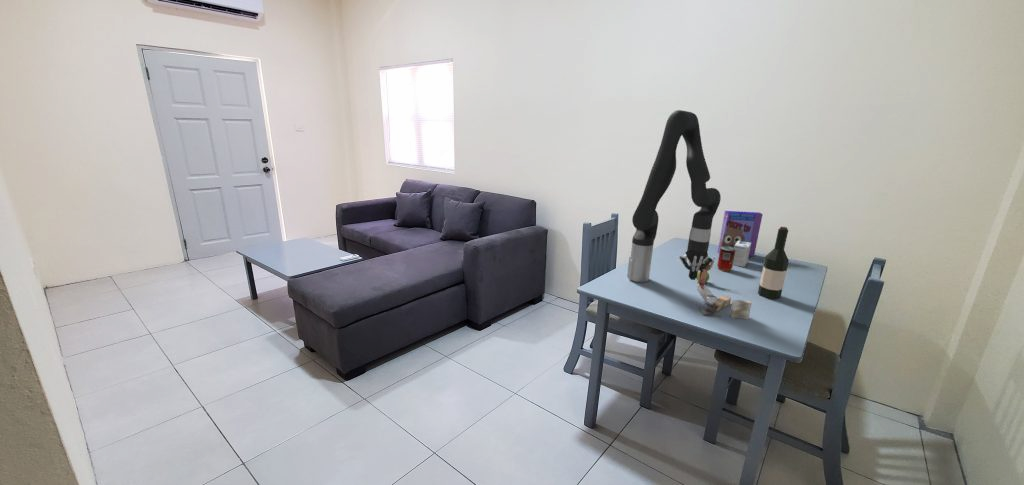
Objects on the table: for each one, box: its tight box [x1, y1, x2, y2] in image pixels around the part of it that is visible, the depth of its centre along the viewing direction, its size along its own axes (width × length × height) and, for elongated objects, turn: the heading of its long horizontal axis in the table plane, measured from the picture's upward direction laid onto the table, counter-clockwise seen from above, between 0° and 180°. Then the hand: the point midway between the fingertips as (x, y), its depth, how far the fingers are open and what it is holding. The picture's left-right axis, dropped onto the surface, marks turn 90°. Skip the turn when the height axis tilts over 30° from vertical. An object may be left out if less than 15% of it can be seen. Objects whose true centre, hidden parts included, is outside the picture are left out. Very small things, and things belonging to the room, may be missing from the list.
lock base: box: [698, 295, 753, 319], centre depth 160 cm, size 16×15×6 cm
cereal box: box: [717, 210, 763, 258], centre depth 225 cm, size 17×5×24 cm, turn 81°
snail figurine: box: [696, 257, 715, 283], centre depth 186 cm, size 5×6×12 cm
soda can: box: [717, 246, 735, 272], centre depth 203 cm, size 7×7×12 cm
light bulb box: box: [733, 241, 751, 268], centre depth 212 cm, size 11×7×11 cm, turn 144°
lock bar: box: [696, 269, 718, 306], centre depth 161 cm, size 16×4×9 cm, turn 173°
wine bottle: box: [757, 226, 790, 301], centre depth 170 cm, size 8×8×30 cm
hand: (692, 279), depth 167 cm, fingers closed
